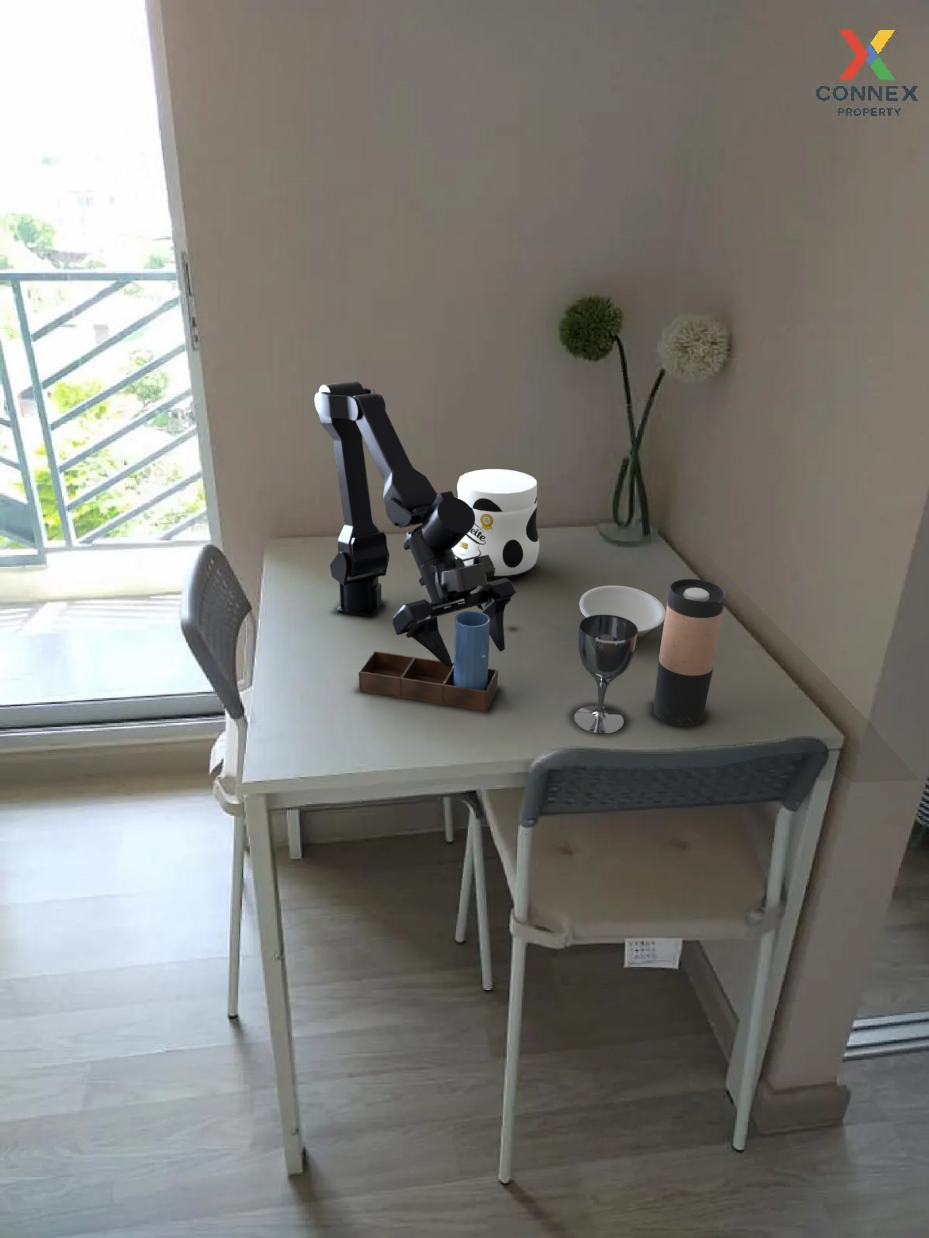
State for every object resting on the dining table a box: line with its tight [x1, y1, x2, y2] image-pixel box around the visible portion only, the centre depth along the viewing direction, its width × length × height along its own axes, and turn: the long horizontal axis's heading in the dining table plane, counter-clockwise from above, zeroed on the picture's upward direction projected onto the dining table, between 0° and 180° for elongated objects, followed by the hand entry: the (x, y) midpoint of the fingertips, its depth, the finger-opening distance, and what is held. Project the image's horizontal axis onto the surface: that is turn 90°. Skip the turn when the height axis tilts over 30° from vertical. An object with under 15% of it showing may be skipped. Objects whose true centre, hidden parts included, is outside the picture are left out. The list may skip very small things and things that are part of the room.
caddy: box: [358, 650, 499, 713], centre depth 132 cm, size 20×7×3 cm, turn 75°
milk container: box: [452, 468, 540, 579], centre depth 171 cm, size 17×17×18 cm
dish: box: [578, 585, 666, 638], centre depth 149 cm, size 18×14×5 cm
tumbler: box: [453, 610, 490, 691], centre depth 128 cm, size 5×5×12 cm
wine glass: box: [573, 615, 639, 734], centre depth 123 cm, size 8×8×15 cm
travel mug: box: [653, 578, 726, 727], centre depth 124 cm, size 8×8×20 cm
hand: (476, 658), depth 127 cm, fingers open, 9 cm apart
